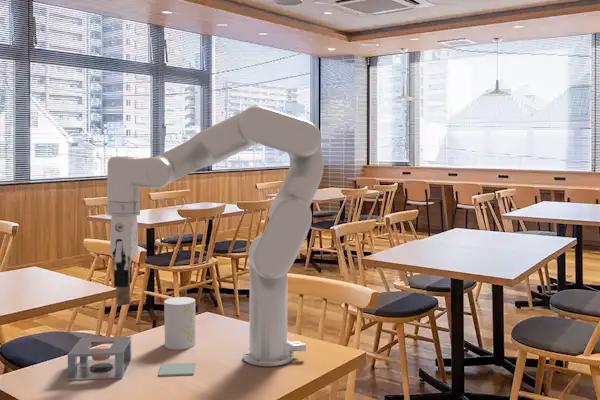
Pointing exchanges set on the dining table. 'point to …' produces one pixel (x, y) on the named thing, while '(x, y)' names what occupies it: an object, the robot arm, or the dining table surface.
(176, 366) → the mat
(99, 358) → the breaker plunger
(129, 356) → the guard cage
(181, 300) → the cup
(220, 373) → the dining table surface
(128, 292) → the brown wooden rod
